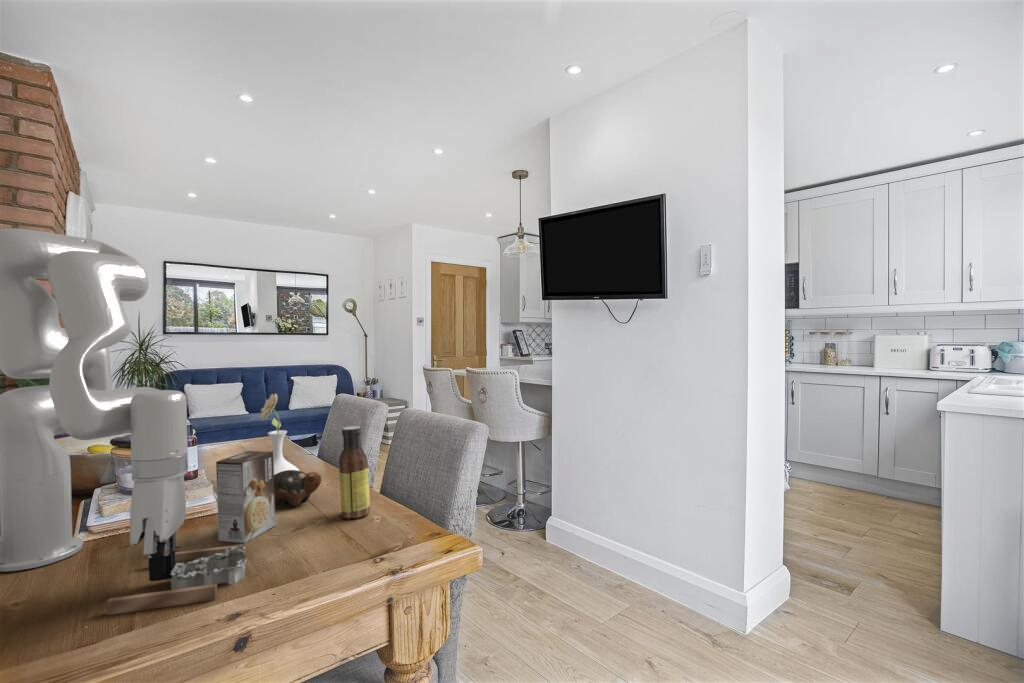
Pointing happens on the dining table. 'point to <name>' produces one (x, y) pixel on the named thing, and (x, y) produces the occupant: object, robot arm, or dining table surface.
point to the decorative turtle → (294, 486)
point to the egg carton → (211, 569)
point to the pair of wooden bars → (169, 596)
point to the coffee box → (245, 496)
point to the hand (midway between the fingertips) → (162, 577)
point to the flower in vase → (276, 437)
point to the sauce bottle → (353, 475)
